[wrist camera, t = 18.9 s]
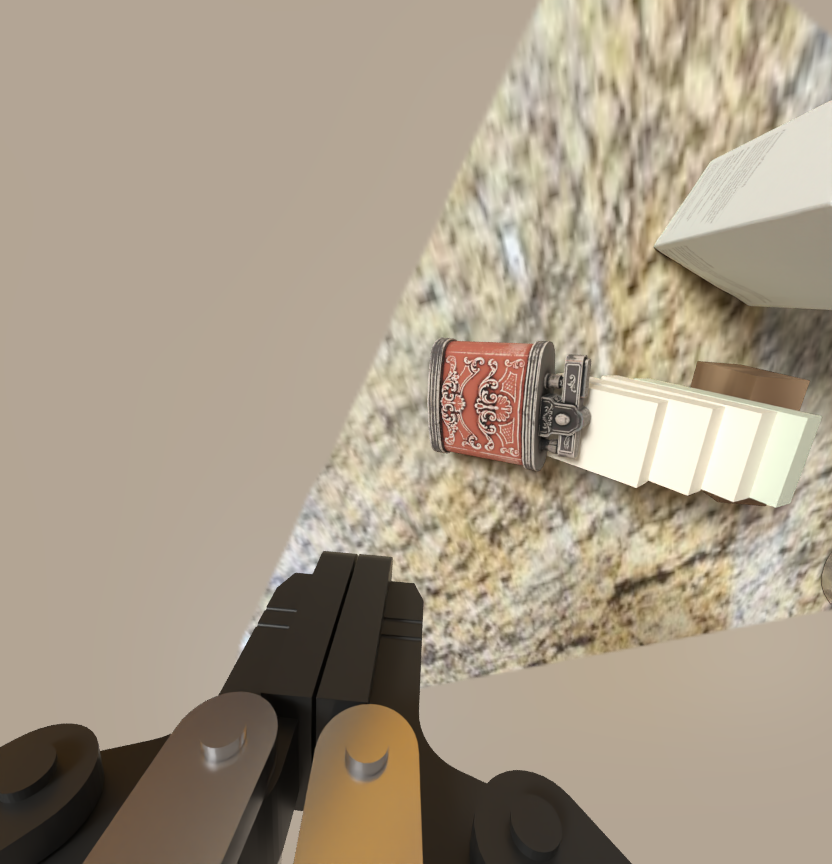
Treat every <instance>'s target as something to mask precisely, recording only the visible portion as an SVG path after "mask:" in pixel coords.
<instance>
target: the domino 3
mask: <svg viewBox="0 0 832 864" xmlns="http://www.w3.org/2000/svg"><path fill="white" fill-rule="evenodd" d="M601 379H603V380H607V381H612V382H616V383H621V384H625V385H630V386H634V387H639V388H643V389H648V390H652V391H657V392H662V393H666V394H671V395H675V396H680V397H684V398H689V399H693V400H698V401H702V402H707V403H711V404H716V405H721V406H725V407H726V408H725V411H724V414H723V418H722V421H721V424H720V428H719V431H718V434H717V438H716V441H715V444H714V448H713V451H712V454H711V458H710V461H709V465H708V468H707V471H706V475H705V478H704V481H703V485H702V488H701V489H702V490H705V491H707V492H710V493H712V494H714V495H717V496H719V497H722V498H724V499H727V500H729V501H732V502H736V501H740V500H743V499H747V498H749V497H750V494H751V491H752V488H753V485H754V482H755V479H756V476H757V473H758V470H759V467H760V464H761V461H762V458H763V455H764V452H765V449H766V446H767V443H768V440H769V437H770V434H771V431H772V428H773V425H774V422H775V419H776V416H777V413H778V412H776V411H771V410H767V409H763V408H758V407H754V406H749V405H745V404H741V403H736V402H732V401H727V400H723V399H719V398H714V397H710V396H705V395H701V394H697V393H692V392H688V391H684V390H679V389H675V388H670V387H666V386H662V385H657V384H653V383H648V382H644V381H640V380H635V379H631V378H626V377H622V376H618V375H615V376H602V378H601Z"/></svg>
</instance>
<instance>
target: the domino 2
mask: <svg viewBox="0 0 832 864" xmlns="http://www.w3.org/2000/svg"><path fill="white" fill-rule="evenodd" d="M557 375H562V377H564V373H557ZM589 384H594V385H598V386H603V387H608V388H612V389H617V390H622V391H626V392H631V393H636V394H640V395H645V396H650V397H655V398H659V399H664V400H669V402H668V406H667V410H666V414H665V417H664V421H663V425H662V429H661V433H660V436H659V440H658V444H657V448H656V452H655V455H654V459H653V463H652V467H651V471H650V474H649V478H648V481H651V482H653V483H656V484H658V485H661V486H664V487H666V488H669V489H671V490H674V491H677V492H679V493H682V494H684V495H687V496H688V495H691V494H693V493H696V492H698V491H700V490H701V488H702V485H703V481H704V478H705V475H706V471H707V468H708V465H709V461H710V458H711V454H712V451H713V448H714V444H715V441H716V438H717V434H718V431H719V428H720V424H721V421H722V418H723V414H724V411H725V408H726V407H725V406H721V405H716V404H711V403H707V402H702V401H698V400H693V399H689V398H684V397H680V396H675V395H671V394H666V393H662V392H657V391H652V390H648V389H643V388H639V387H634V386H630V385H625V384H621V383H616V382H612V381H607V380H603V379H598V378H594V377H590V379H589Z"/></svg>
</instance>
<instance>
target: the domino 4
mask: <svg viewBox="0 0 832 864" xmlns="http://www.w3.org/2000/svg"><path fill="white" fill-rule="evenodd" d="M633 379H635V380H640V381H644V382H648V383H653V384H657V385H662V386H666V387H670V388H675V389H679V390H684V391H688V392H692V393H697V394H701V395H705V396H710V397H714V398H719V399H723V400H727V401H732V402H736V403H741V404H745V405H749V406H754V407H758V408H763V409H767V410H771V411H776V412H778V413H777V416H776V419H775V422H774V425H773V428H772V431H771V434H770V437H769V440H768V443H767V446H766V449H765V452H764V455H763V458H762V461H761V464H760V467H759V470H758V473H757V476H756V479H755V482H754V485H753V488H752V491H751V494H750V497H749V498H752V499H755V500H757V501H760V502H762V503H765V504H767V505H770V506H773V507H775V508H776V507H780V506H783V505H786V504H789V503H791V500H792V497H793V494H794V492H795V489H796V486H797V484H798V481H799V478H800V476H801V473H802V470H803V467H804V465H805V462H806V459H807V457H808V454H809V451H810V449H811V446H812V443H813V440H814V438H815V435H816V432H817V430H818V427H819V424H820V421H821V419H822V416H819V415H814V414H810V413H805V412H801V411H796V410H791V409H787V408H782V407H778V406H773V405H769V404H764V403H760V402H755V401H750V400H746V399H741V398H737V397H732V396H728V395H723V394H719V393H714V392H709V391H705V390H700V389H696V388H691V387H687V386H682V385H677V384H673V383H668V382H664V381H659V380H655V379H650V378H633Z"/></svg>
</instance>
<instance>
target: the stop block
mask: <svg viewBox="0 0 832 864" xmlns="http://www.w3.org/2000/svg"><path fill="white" fill-rule="evenodd" d="M809 382H810V381H809V380H805V379H801V378H796V377H792V376H788V375H783V374H779V373H774V372H770V371H766V370H761V369H757V368H753V367H748V366H744V365H738V364H725V363H713V362H701V361H698V362H697V365H696V369H695V373H694V376H693V380H692V384H691V388H696V389H700V390H705V391H709V392H714V393H719V394H723V395H728V396H732V397H737V398H741V399H746V400H750V401H755V402H760V403H764V404H769V405H773V406H778V407H782V408H787V409H791V410H796V411H800V408H801V405H802V402H803V399H804V396H805V394H806V391H807V388H808V385H809ZM701 490H702V489H701ZM702 491H703V492H705V493H706V494H708V495H709V496H710V497H712V498H713V499H714V500H716V501H717V502H724V503H735V504H747V505H758V506H766V504H765V503H762V502H760V501H757V500H755V499H752V498H747V499H743V500H740V501H736V502H732V501H729V500H727V499H724V498H722V497H719V496H717V495H714V494H712V493H710V492H707V491H705V490H702Z"/></svg>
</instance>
